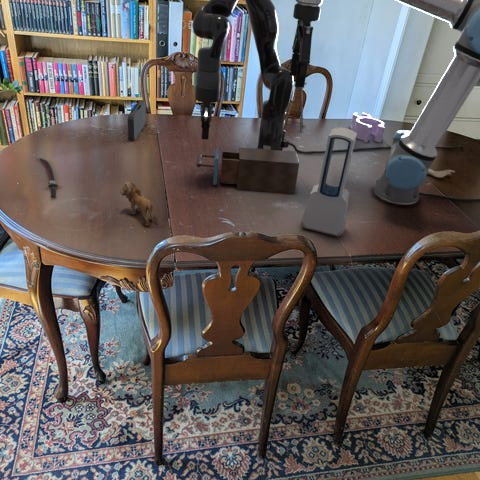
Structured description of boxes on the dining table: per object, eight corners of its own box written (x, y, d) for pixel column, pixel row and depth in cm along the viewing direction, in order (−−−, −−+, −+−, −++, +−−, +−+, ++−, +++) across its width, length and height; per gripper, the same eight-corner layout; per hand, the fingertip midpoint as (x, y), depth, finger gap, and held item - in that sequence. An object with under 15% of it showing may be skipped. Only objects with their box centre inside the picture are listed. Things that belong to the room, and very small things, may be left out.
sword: (61, 197, 141) (61, 193, 140) (50, 198, 139) (50, 194, 139) (49, 160, 164) (48, 156, 163) (39, 160, 163) (39, 157, 162)
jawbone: (446, 183, 178) (448, 178, 177) (396, 166, 188) (397, 162, 187) (454, 175, 183) (456, 170, 182) (405, 159, 194) (406, 154, 193)
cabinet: (236, 189, 157) (239, 158, 151) (236, 176, 165) (238, 147, 159) (294, 193, 158) (299, 163, 152) (290, 180, 166) (295, 151, 161)
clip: (343, 126, 223) (346, 112, 219) (367, 127, 225) (371, 113, 221) (360, 142, 206) (364, 127, 202) (386, 142, 209) (390, 127, 205)
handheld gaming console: (139, 121, 202) (139, 98, 197) (146, 122, 202) (145, 99, 197) (127, 140, 183) (126, 115, 178) (134, 141, 183) (133, 116, 178)
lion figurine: (118, 210, 138) (116, 182, 133) (132, 204, 141) (131, 177, 137) (151, 229, 130) (150, 201, 126) (165, 223, 134) (165, 195, 129)
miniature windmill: (301, 132, 210) (312, 62, 194) (282, 129, 211) (292, 60, 195) (302, 125, 218) (314, 58, 201) (285, 123, 219) (294, 56, 202)
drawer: (195, 183, 156) (196, 157, 151) (197, 172, 163) (198, 147, 158) (267, 188, 157) (271, 163, 152) (265, 177, 165) (269, 152, 160)
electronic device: (344, 227, 141) (368, 132, 125) (340, 239, 135) (365, 141, 119) (304, 217, 144) (322, 123, 128) (299, 229, 138) (317, 131, 122)
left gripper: (196, 78, 148) (194, 130, 157) (194, 89, 137) (192, 145, 146) (220, 80, 148) (216, 132, 158) (219, 91, 137) (216, 147, 147)
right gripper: (290, -2, 141) (280, 70, 153) (300, 8, 120) (288, 91, 132) (314, 0, 142) (302, 72, 153) (329, 11, 121) (314, 93, 132)
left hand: (205, 138), depth 152 cm, fingers closed
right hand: (296, 81), depth 143 cm, fingers open, 13 cm apart
